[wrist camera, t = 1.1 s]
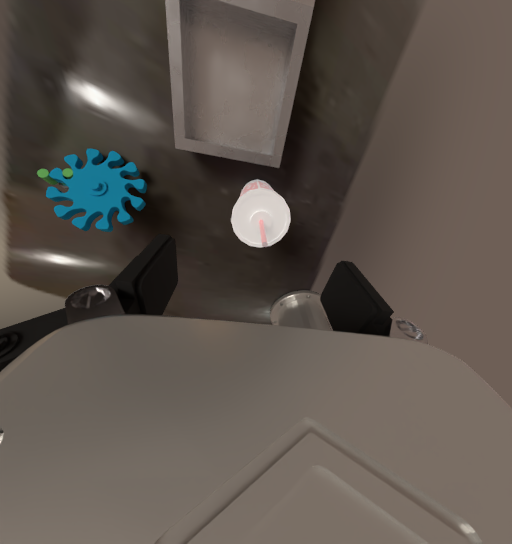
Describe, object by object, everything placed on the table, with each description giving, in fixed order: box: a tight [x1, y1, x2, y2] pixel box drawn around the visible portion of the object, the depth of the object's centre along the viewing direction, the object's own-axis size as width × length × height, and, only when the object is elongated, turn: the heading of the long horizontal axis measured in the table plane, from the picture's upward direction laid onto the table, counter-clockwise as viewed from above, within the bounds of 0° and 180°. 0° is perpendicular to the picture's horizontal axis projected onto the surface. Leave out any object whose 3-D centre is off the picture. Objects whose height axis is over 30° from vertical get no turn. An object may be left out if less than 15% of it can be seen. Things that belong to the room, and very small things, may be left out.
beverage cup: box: [231, 179, 291, 247], centre depth 21 cm, size 6×6×14 cm
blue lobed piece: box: [37, 149, 147, 232], centre depth 24 cm, size 11×6×10 cm
